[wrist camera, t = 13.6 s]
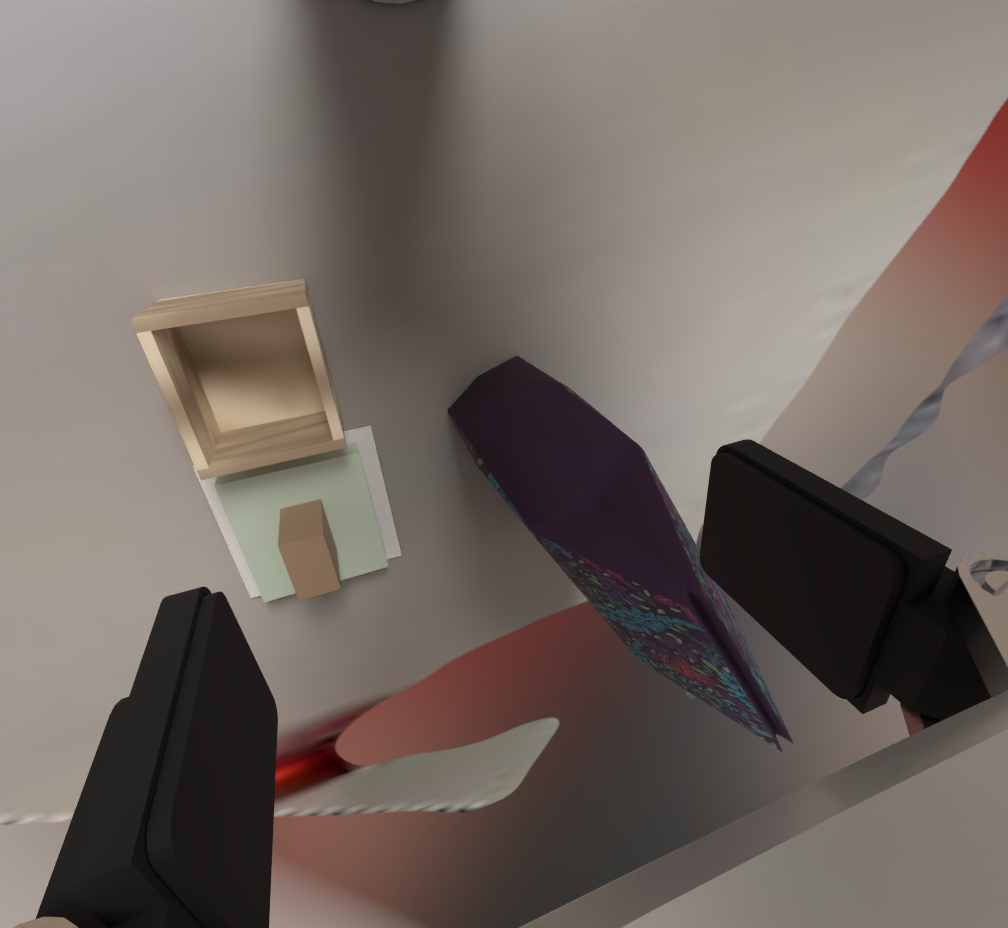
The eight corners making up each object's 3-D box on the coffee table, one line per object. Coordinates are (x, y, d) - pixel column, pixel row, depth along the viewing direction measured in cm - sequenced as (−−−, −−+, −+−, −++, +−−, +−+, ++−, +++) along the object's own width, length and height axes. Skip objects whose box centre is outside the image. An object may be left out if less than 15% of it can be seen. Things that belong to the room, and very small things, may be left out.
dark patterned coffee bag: (534, 524, 52) (730, 799, 28) (437, 406, 43) (605, 665, 19) (599, 474, 51) (850, 706, 28) (515, 345, 43) (781, 528, 19)
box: (158, 299, 33) (130, 320, 28) (304, 278, 35) (305, 293, 30) (215, 439, 38) (201, 480, 32) (340, 413, 40) (346, 447, 35)
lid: (218, 472, 39) (202, 523, 33) (356, 441, 41) (366, 483, 35) (265, 585, 44) (259, 647, 38) (384, 552, 47) (397, 605, 40)
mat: (193, 463, 38) (192, 466, 38) (370, 425, 41) (371, 427, 41) (251, 595, 44) (251, 598, 44) (401, 553, 48) (401, 555, 47)
